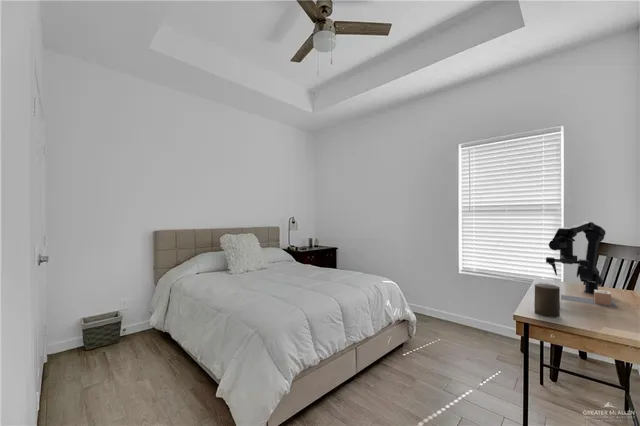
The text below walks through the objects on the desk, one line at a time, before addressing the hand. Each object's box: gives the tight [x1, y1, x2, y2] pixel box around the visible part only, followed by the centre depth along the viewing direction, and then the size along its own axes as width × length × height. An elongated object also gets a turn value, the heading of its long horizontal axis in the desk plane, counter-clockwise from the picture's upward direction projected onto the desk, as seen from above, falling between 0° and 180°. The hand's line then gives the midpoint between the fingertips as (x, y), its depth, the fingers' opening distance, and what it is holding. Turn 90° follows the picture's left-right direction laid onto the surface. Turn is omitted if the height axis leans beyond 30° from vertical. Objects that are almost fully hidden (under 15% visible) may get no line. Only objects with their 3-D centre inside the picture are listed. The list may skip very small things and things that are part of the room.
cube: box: [593, 289, 612, 305], centre depth 154 cm, size 6×6×6 cm
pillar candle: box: [533, 283, 561, 318], centre depth 140 cm, size 10×10×15 cm
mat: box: [560, 294, 618, 309], centre depth 158 cm, size 12×22×1 cm, turn 50°
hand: (566, 276), depth 167 cm, fingers open, 9 cm apart
